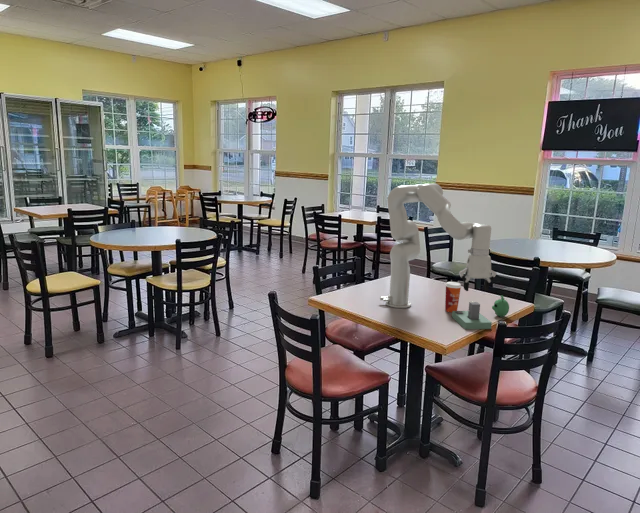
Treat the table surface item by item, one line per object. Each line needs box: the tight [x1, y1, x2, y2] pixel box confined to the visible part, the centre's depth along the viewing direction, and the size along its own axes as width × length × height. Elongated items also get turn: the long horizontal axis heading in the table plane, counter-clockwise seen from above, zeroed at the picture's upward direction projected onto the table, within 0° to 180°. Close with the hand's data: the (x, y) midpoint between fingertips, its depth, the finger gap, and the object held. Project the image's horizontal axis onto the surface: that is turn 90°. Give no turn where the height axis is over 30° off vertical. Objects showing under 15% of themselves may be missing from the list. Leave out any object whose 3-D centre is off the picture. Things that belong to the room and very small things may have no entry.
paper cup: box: [444, 281, 462, 314], centre depth 232 cm, size 8×8×14 cm
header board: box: [451, 310, 493, 330], centre depth 217 cm, size 12×16×3 cm
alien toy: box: [491, 295, 510, 318], centre depth 227 cm, size 7×8×10 cm
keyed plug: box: [467, 301, 481, 320], centre depth 215 cm, size 4×5×10 cm
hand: (475, 290), depth 212 cm, fingers open, 8 cm apart
